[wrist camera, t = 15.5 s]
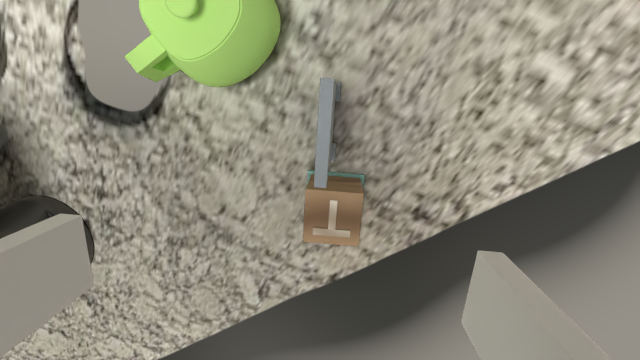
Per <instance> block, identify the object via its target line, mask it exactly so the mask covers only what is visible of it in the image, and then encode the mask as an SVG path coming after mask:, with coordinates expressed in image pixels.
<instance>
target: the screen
mask: <svg viewBox="0 0 640 360" xmlns="http://www.w3.org/2000/svg"><path fill="white" fill-rule="evenodd" d="M340 91H341V83H337V82H335V80H334V79H328V78H320V93H319V109H318V126H317V143H316V159H315V176H314V187H318V188H326V186H327V180H328V174H329V168H330V161H335V155H336V143H332V138H333V124H334V111H335V102H340Z"/></svg>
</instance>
